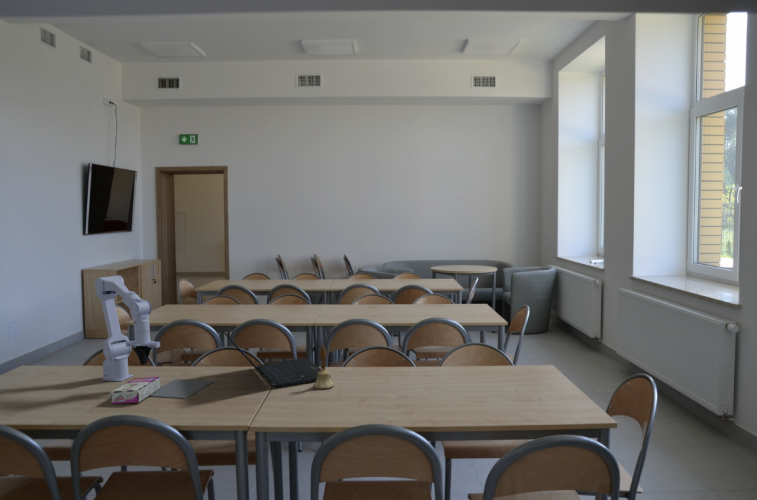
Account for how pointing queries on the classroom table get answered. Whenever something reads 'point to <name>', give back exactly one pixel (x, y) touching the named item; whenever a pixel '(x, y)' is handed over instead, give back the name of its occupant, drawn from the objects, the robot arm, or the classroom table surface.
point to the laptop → (286, 371)
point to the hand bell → (323, 373)
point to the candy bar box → (135, 390)
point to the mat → (180, 388)
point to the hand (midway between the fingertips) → (144, 364)
